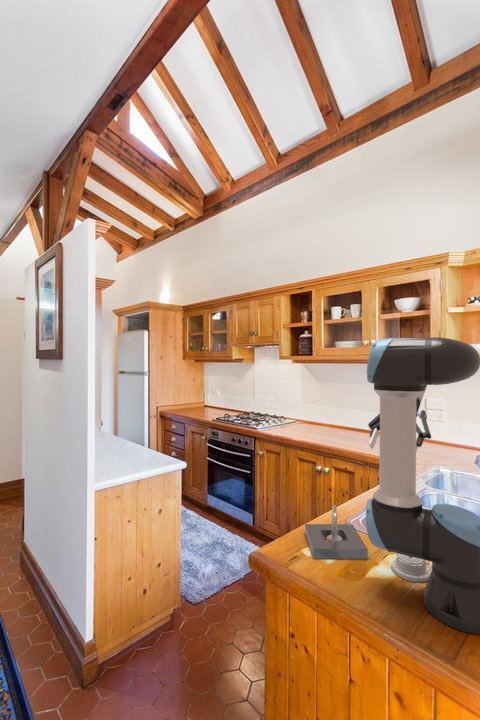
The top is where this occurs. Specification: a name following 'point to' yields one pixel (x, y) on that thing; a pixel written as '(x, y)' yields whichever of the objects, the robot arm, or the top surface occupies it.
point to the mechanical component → (410, 568)
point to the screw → (334, 527)
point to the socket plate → (335, 550)
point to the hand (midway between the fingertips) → (390, 450)
